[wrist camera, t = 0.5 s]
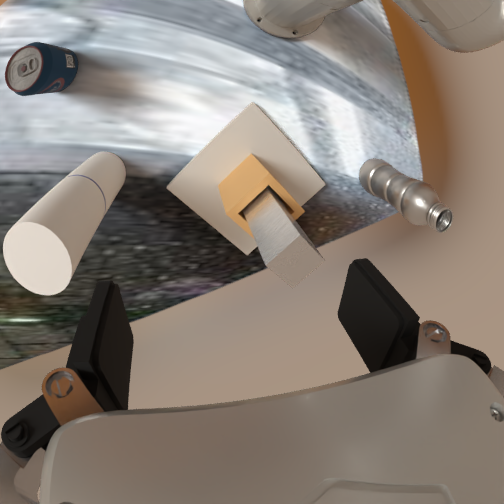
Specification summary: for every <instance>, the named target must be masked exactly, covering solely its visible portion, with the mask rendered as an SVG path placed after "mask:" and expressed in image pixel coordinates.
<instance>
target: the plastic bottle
mask: <svg viewBox="0 0 504 504" xmlns="http://www.w3.org/2000/svg"><path fill="white" fill-rule="evenodd" d="M359 180H360V183H361V185H362V187H363V188H364V189H365V190H366V191H367V192H368V193H370V194H372V195H374V196H377V197H380V198H382V199H384V200H385V201H387V202H389V203H390V204H391V205H392V206H393V207H395V208H396V209H397V210H398V211H399V212H400V213H401V214H402V216H403V217H404V218H405V219H406V220H407V221H408V222H410V223H412V224H414V225H418V226H422V225H428V226H429V227H431V228H432V229H434V230H436V231H437V232H439V233H443V232H445V231H447V230H448V229H449V227H450V226H451V224H452V221H453V212H452V210H451V209H450V208H448V207H447V206H446V205H445V204H444V203H442V202H440V200H439V197H438V195H437V192H436V191H435V190H434V188H433V187H432V186H431V185H430V184H428V183H425V182H423V181H420V180H417V179H413V178H410V177H408V176H406V175H404V174H402V173H400V172H399V171H397V170H396V169H394V168H393V167H392V166H391V165H390V164H389V163H387V162H386V161H384V160H382V159H376V158H373V159H369V160H367V161H366V162H365V163H364V164H363V165H362V167H361V168H360V172H359Z"/></svg>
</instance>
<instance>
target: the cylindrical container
mask: <svg viewBox="0 0 504 504" xmlns="http://www.w3.org/2000/svg"><path fill="white" fill-rule="evenodd" d="M125 178H126V170H125V166H124V164H123V162H122V160H121V159H120V158H119V157H118V156H117V155H115V154H113V153H111V152H99V153H96V154H94V155H93V156H91V157H90V158H89V159H88V160H86V161H85V162H84V163H82V164H81V165H80V166H79V167H78V168H76V169H75V170H74V171H73V172H71V173H70V174H69V175H68V176H66V177H65V178H64V179H63V180H62V181H60V182H59V183H58V184H57V185H56V186H55V187H54V188H52V189H51V190H50V191H49V192H48V193H47V194H46V195H45V196H44V197H43V198H41V199H40V200H39V201H38V202H37V203H36V204H35V205H34V206H33V207H32V208H31V209H30V210H29V211H28V212H27V213H26V214H25V215H24V216H23V217H22V218H21V219H20V220H19V221H18V222H17V223H16V224H15V225H14V226H13V227H12V228H11V229H10V230H9V231H8V233H7V235H6V237H5V240H4V244H3V252H4V258H5V262H6V265H7V267H8V269H9V271H10V272H11V274H12V275H13V277H14V278H15V279H16V280H17V281H18V282H19V283H20V284H21V285H22V286H23V287H25V288H26V289H28V290H30V291H32V292H34V293H37V294H41V295H53V294H57V293H59V292H61V291H62V290H64V289H65V288H66V286H67V285H68V284H69V282H70V279H71V277H72V275H73V273H74V271H75V269H76V267H77V265H78V263H79V261H80V259H81V257H82V255H83V253H84V251H85V249H86V248H87V246H88V244H89V242H90V240H91V238H92V236H93V235H94V233H95V231H96V229H97V227H98V226H99V224H100V222H101V220H102V219H103V217H104V215H105V213H106V212H107V210H108V208H109V207H110V205H111V203H112V202H113V200H114V198H115V197H116V195H117V194H118V192H119V190H120V189H121V187H122V186H123V184H124V182H125Z"/></svg>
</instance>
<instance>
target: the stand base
mask: <svg viewBox="0 0 504 504" xmlns="http://www.w3.org/2000/svg"><path fill="white" fill-rule="evenodd" d="M268 185H269V186H270V188H271V189H272V190H273V191H274V192H275V193H276V194H277V195H278V196H279V197H280V198H279V199H280V200H281V201H282V203H283V204H284V205H285V206H286V207H287V210H288V211H289V212H290V214H291V215H292V216H293V218H294V219H295V220H296V219H297V218H298V217H300V216H301V215H302V214H303V213H304V212H305V211H304V210H303V208H302V207H301V206H302V205H304V204H305V203H306V202H307V201H308V200H309V199H310V198H311V197H312V196H313V195H315V194H316V193H317V192H318V191H319V190H320V189H321V188H322V187H323V186H325V185H326V184H325V183H324V182H323V180H322V179H321V178H320V177H319V175H318V174H317V173H316V172H315V171H314V169H313V168H312V167H311V166H310V165H309V163H308V162H307V161H306V160H305V159H304V158H303V156H302V155H301V154H300V153H299V152H298V151H297V149H296V148H295V147H294V146H293V145H292V144H291V143H290V141H289V140H288V139H287V138H286V137H285V136H284V135H283V134H282V132H281V131H280V130H279V129H278V128H277V127H276V126H275V125H274V124H273V123H272V121H271V120H270V119H269V118H268V117H267V116H266V115H265V114H264V113H263V112H262V111H261V110H260V109H259V108H258V107H257V106H256V104H255V103H254V102H251V103H250V104H249V105H248V106H247V107H246V108H245V109H244V110H242V111H241V112H240V113H239V114H238V115H237V116H236V117H235V118H234V119H233V120H232V121H231V122H229V123H228V124H227V125H226V126H225V127H224V128H223V129H222V130H221V131H220V132H219V133H218V134H217V135H216V136H215V137H214V138H213V139H212V140H211V141H210V142H209V143H208V144H207V145H206V146H205V147H204V148H203V149H202V150H201V151H200V152H199V153H198V154H197V155H196V156H195V157H194V158H193V159H192V160H191V161H190V162H189V163H188V164H187V165H186V166H185V167H184V168H183V169H182V170H181V171H180V172H179V173H178V174H177V176H176V177H175V178H174V179H173V180H172V181H171V182H170V183H169V184H168V185H167V189H168V190H169V191H170V192H172V193H173V194H174V195H175V196H176V197H178V198H179V199H180V200H181V201H182V202H184V203H185V204H186V205H187V206H188V207H190V208H191V209H192V210H193V211H194V212H196V213H197V214H198V215H199V216H200V217H202V218H203V219H204V220H205V221H206V222H208V223H209V224H210V225H211V226H212V227H214V228H215V229H216V230H217V231H218V232H220V233H221V234H222V235H223V236H224V237H226V238H227V239H228V240H229V241H230V242H232V243H233V244H234V245H235V246H236V247H238V248H239V249H240V250H241V251H242V252H244V253H245V254H246V255H248V254H249V253H250V252H251V251H253V250H254V249H255V248H256V247H257V244H256V241H255V239H254V237H253V234H252V232H251V229H250V227H249V225H248V222H247V220H246V218H245V215H244V213H243V211H242V209H243V208H244V207H246V206H247V205H248V204H249V203H250V202H251V201H252V200H253V199H254V198H255V197H256V196H257V195H258V194H259V193H260V192H262V191H263V190H264V189H265V188H266V187H267V186H268Z"/></svg>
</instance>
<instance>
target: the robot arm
mask: <svg viewBox="0 0 504 504" xmlns="http://www.w3.org/2000/svg"><path fill="white" fill-rule="evenodd" d="M361 1H363V0H243V4H244V8H245V11H246V13H247V15H248V17H249V18H250V20H251V21H252V22H253V23H254V24H255V25H256V26H257V27H259V28H260V29H261V30H263V31H265V32H267V33H269V34H271V35H274V36H277V37H282V38H297V37H302V36H305V35H307V34H310V33H312V32H313V31H315V30H316V29H317V28H318V27H319V26H320V25H321V24H322V22H323V20H324V19H325V16H326V15H329V14H331V13H333V12H336V11H338V10H341V9H343V8H346V7H348V6H351V5H353V4H356V3H359V2H361ZM393 1H394V2H396V3H397V4H398V5H399V6H400V7H401V8H402V9H403V10H404V11H405V12H406V13H407V14H409V16H411V18H412V19H413V20H414V21H415V22H416V23H417V24H418V25H419V26H421V27H422V28H423V29H424V30H425V32H426V33H427V34H428V35H429V36H431V37H432V38H433V39H434V40H435V41H436V42H437V43H438V44H440V45H441V46H443V47H445V48H446V49H449V50H451V51H455V52H461V53H465V52H466V53H467V52H474V51H479V50H482V49H485V48H488V47H490V46H493V45H495V44H497V43H499V42H501V41H503V40H504V0H393ZM257 20H260V22H258V21H257ZM292 32H294V33H295V35H294V34H293V33H292ZM338 318H339V320H340V322H341V324H342V325H343V327H344V328H345V330H346V332H347V334H348V335H349V337H350V339H351V340H352V342H353V344H354V345H355V347H356V349H357V350H358V352H359V354H360V355H361V357H362V359H363V361H364V362H365V364H366V366H367V368H368V369H369V371H370V373H369V374H365V375H362V376H358V377H354V378H350V379H347V380H343V381H339V382H335V383H331V384H327V385H322V386H318V387H314V388H309V389H304V390H299V391H294V392H290V393H284V394H278V395H273V396H267V397H261V398H255V399H248V400H241V401H233V402H225V403H217V404H208V405H197V406H185V407H172V408H155V409H134V410H128V396H129V383H130V370H131V361H132V351H133V334H132V331H131V327H130V324H129V321H128V318H127V315H126V311H125V308H124V304H123V301H122V297H121V294H120V290H119V286H118V284H114V283H113V281H99V282H98V283H97V285H96V288H95V291H94V293H93V296H92V299H91V302H90V305H89V308H88V311H87V314H86V316H82V317H81V319H80V321H79V324H78V327H77V330H76V333H75V337H74V340H73V343H72V347H71V350H70V354H69V357H68V361H67V365H66V368H57V369H54V370H52V371H51V372H49V373H48V374H47V375H46V377H45V378H44V380H43V382H42V392H43V395H41V396H40V397H39V398H37V399H36V400H35V401H33V402H32V403H30V404H29V405H28V406H26V407H25V408H23V409H22V410H21V411H19V412H18V413H17V414H15V415H14V416H13V417H11V418H10V419H9V420H7V421H6V422H5V424H4V426H3V428H2V432H1V438H2V442H1V444H0V504H504V371H502V370H501V369H499V368H498V367H496V366H495V365H494V366H493V368H492V367H491V362H490V360H489V358H488V357H487V356H486V354H484V353H483V352H481V351H479V350H476V349H474V348H471V347H468V346H465V345H462V344H459V343H456V342H454V341H451V340H450V333H449V331H448V330H447V329H446V327H445V326H443V325H442V324H440V323H438V322H436V321H425V322H423V323H422V324H420V323H419V322H418V321H419V318H420V317H419V316H418V315H417V314H416V313H415V311H414V310H413V309H412V308H411V307H410V305H409V304H408V303H407V302H406V301H405V300H404V299H403V297H402V296H401V295H400V294H399V293H398V292H397V291H396V289H395V288H394V287H393V286H392V285H391V284H390V283H389V282H388V280H387V279H386V278H385V277H384V276H383V275H382V274H381V273H380V272H379V270H377V268H376V267H375V266H374V265H373V264H372V263H371V262H370V261H369V260H368V259H366V258H365V259H356V260H354V261H353V262H352V264H350V266H349V269H348V274H347V277H346V282H345V286H344V290H343V294H342V298H341V302H340V306H339V310H338ZM39 487H40V503H39V501H38V498H37V492H38V489H39Z"/></svg>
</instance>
